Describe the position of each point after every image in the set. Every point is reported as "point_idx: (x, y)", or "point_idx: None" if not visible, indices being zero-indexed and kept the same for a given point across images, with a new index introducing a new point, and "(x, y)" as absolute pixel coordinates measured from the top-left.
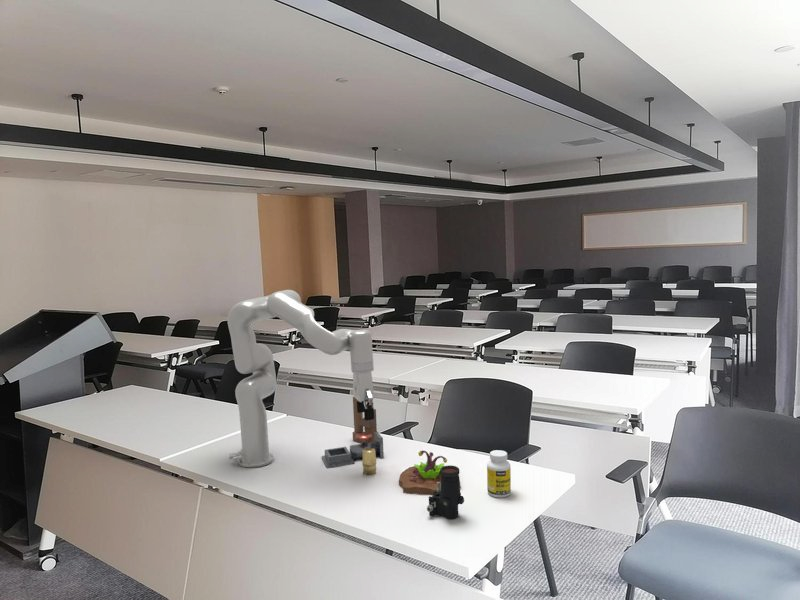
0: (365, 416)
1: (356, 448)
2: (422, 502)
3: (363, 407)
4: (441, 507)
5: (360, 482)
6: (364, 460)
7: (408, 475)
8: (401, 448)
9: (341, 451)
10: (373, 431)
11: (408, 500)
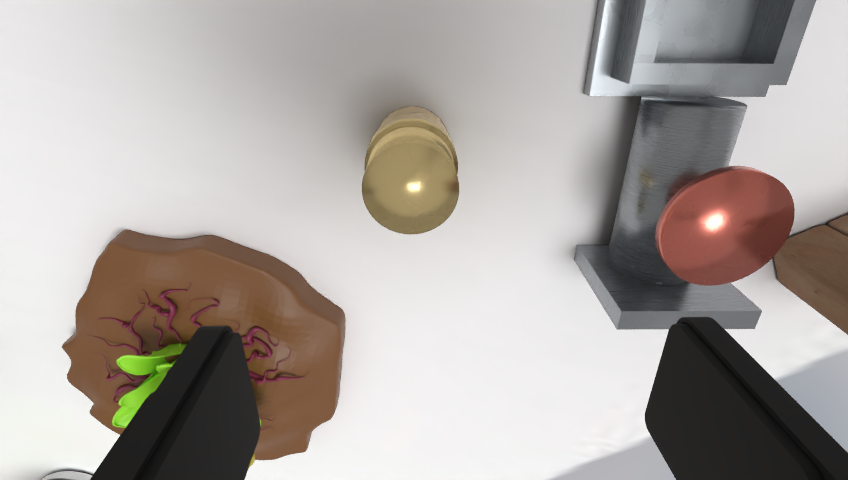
0: (175, 376)
1: (668, 141)
2: (11, 271)
3: (689, 450)
4: None
5: (300, 57)
6: (390, 132)
7: (225, 299)
8: (640, 358)
9: (763, 41)
10: (838, 309)
11: (35, 225)
